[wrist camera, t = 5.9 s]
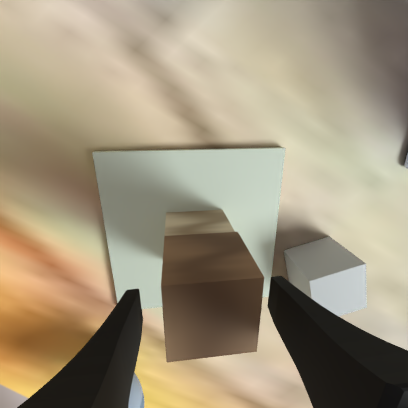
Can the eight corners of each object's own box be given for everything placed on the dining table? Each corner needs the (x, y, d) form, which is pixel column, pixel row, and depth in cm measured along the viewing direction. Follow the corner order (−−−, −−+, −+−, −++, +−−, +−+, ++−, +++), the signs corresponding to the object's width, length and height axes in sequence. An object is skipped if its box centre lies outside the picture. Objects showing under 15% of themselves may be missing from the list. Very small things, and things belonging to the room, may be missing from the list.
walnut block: (237, 231, 14) (264, 277, 10) (234, 290, 16) (256, 351, 12) (164, 235, 14) (160, 286, 10) (168, 296, 15) (166, 362, 11)
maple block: (222, 209, 19) (236, 235, 15) (221, 257, 20) (234, 293, 16) (166, 212, 18) (164, 240, 14) (169, 261, 20) (168, 300, 16)
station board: (282, 147, 18) (285, 148, 18) (266, 292, 23) (269, 296, 22) (94, 151, 17) (92, 152, 16) (120, 306, 21) (118, 311, 21)
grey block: (328, 235, 22) (366, 263, 18) (331, 273, 23) (366, 307, 19) (283, 249, 22) (309, 281, 18) (289, 287, 23) (315, 323, 19)
